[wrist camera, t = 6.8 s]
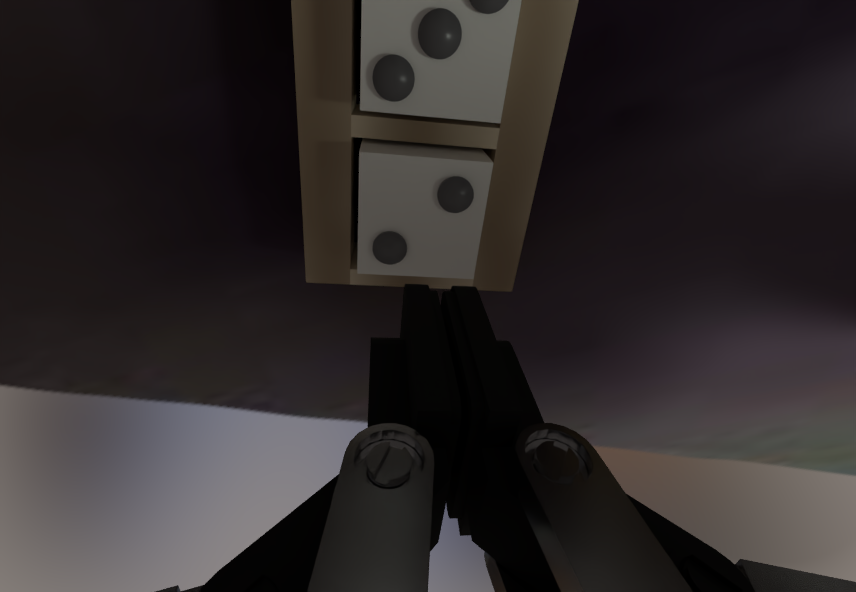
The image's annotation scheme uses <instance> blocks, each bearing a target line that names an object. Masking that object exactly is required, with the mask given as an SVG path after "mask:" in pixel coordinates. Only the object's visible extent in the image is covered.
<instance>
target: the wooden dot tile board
mask: <svg viewBox="0 0 856 592" xmlns="http://www.w3.org/2000/svg"><path fill="white" fill-rule="evenodd" d="M578 1H579V0H522V2H521V7H520V13H519V19H518V25H517V30H516V36H515V42H514V48H513V54H512V59H511V65H510V71H509V77H508V82H507V88H506V94H505V100H504V106H503V111H502V117H501V123H491V122H480V121H469V120H458V119H448V118H437V117H426V116H415V115H405V114H394V113H383V112H372V111H362V110H360V104H356V65H357V0H291V7H292V26H293V45H294V64H295V83H296V102H297V121H298V140H299V158H300V177H301V196H302V215H303V234H304V253H305V272H306V283H327V284H350V285H372V286H394V287H404V286H405V284H426V285H428V286H429V288H439V289H451V287H452V286H475V287H476V288H477V290H484V291H506V292H512V289H513V285H514V281H515V276H516V272H517V268H518V263H519V259H520V254H521V250H522V246H523V241H524V237H525V233H526V228H527V224H528V219H529V215H530V211H531V206H532V202H533V198H534V193H535V189H536V185H537V180H538V176H539V171H540V167H541V163H542V158H543V154H544V150H545V145H546V141H547V136H548V132H549V128H550V123H551V119H552V115H553V110H554V106H555V102H556V97H557V93H558V88H559V84H560V80H561V75H562V71H563V67H564V62H565V58H566V53H567V49H568V45H569V40H570V36H571V32H572V27H573V23H574V19H575V14H576V10H577V5H578ZM356 137H358V138H370V139H382V140H393V141H405V142H417V143H429V144H440V145H452V146H464V147H475V148H482V150H483V151H484V152H485V153H486V154H487V156H488V157H489V158H490V159H491V160H492V162H493V169H492V175H491V181H490V186H489V192H488V198H487V204H486V210H485V215H484V221H483V227H482V233H481V238H480V244H479V250H478V256H477V262H476V267H475V273H474V279H459V278H438V277H418V276H397V275H376V274H357V259H358V243H356V242H354V232H355V149H356Z"/></svg>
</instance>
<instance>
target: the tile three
mask: <svg viewBox="0 0 856 592" xmlns="http://www.w3.org/2000/svg"><path fill="white" fill-rule="evenodd" d="M521 2H522V0H362V13H361V75H360V110H362V111H372V112H383V113H394V114H405V115H415V116H426V117H437V118H448V119H458V120H469V121H480V122H491V123H501V117H502V111H503V106H504V100H505V94H506V88H507V82H508V77H509V71H510V65H511V59H512V54H513V48H514V42H515V36H516V30H517V25H518V19H519V13H520V7H521Z"/></svg>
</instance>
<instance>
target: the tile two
mask: <svg viewBox="0 0 856 592" xmlns="http://www.w3.org/2000/svg"><path fill="white" fill-rule="evenodd" d="M492 169H493V162H492V160H491V159H490V158H489V157H488V156H487V154H486V153H485V152H484V151H483V150H482V148H475V147H464V146H452V145H440V144H429V143H417V142H405V141H393V140H382V139H370V138H362V142H361V147H360V151H359V197H358V259H357V274H376V275H397V276H418V277H438V278H459V279H474V273H475V267H476V262H477V256H478V250H479V244H480V238H481V233H482V227H483V221H484V215H485V210H486V204H487V198H488V192H489V186H490V181H491V175H492Z"/></svg>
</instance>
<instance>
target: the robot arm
mask: <svg viewBox="0 0 856 592" xmlns="http://www.w3.org/2000/svg"><path fill="white" fill-rule="evenodd" d="M446 503H447V511H448V516H449V518H458V525H459V531H460V536H461V535H471V537H472V541H473V542H474V543H475V544H477V545H478V546H479V547H480V548H481V549H483V550H484V551H485V553H484V557H485V562H486V567H487V570H488V573H489V576H490V579H491V582H492V585H493V588H494V590H495V592H856V582H852V581H848V580H843V579H838V578H833V577H828V576H822V575H817V574H813V573H808V572H802V571H797V570H793V569H788V568H783V567H777V566H773V565H768V564H763V563H758V562H753V561H748V560H743V559H740V560H739V561H738V562H737V563H736V564H733V563H732V562H731V561H730V560H729V559H727V558H726V557H725V556H723V555H722V554H721V553H719V552H718V551H717V550H715V549H714V548H712V547H710V546H709V545H707V544H705V543H704V542H702V541H701V540H699V539H698V538H696V537H694V536H693V535H691V534H690V533H688V532H686V531H685V530H683V529H682V528H680V527H678V526H677V525H675V524H674V523H672V522H670V521H669V520H667V519H666V518H664V517H662V516H661V515H659V514H658V513H656V512H654V511H653V510H651V509H649V508H648V507H646V506H645V505H643V504H642V503H640V502H638V501H637V500H635V499H634V498H632V497H630V496H629V495H627V494H626V493H625V492H624V491H623V489H622V488H621V486H620V485H619V483H618V482H617V481H616V479H615V478H614V476H613V475H612V473H611V472H610V471H609V469H608V467H607V466H606V464H605V463H604V462H603V460H602V459H601V458H600V456H599V454H598V453H597V451H596V450H595V449H594V448H593V447H592V445H591V444H590V443H589V442H588V441H587V440H586V439H585V438H583V437H582V436H581V435H579V434H578V433H577V432H575V431H573V430H571V429H569V428H566V427H564V426H561V425H557V424H553V423H544V421H543V419H542V416H541V414H540V411H539V409H538V407H537V404H536V402H535V399H534V397H533V395H532V392H531V390H530V388H529V385H528V383H527V380H526V378H525V376H524V373H523V371H522V368H521V366H520V364H519V361H518V359H517V357H516V354H515V352H514V349H513V347H512V345H511V344H510V342H508V341H496V338H495V335H494V333H493V330H492V328H491V325H490V322H489V320H488V317H487V314H486V312H485V309H484V306H483V304H482V301H481V298H480V296H479V293H478V290H477V288H476V287H475V286H452V287H451V290H450V291H443V294H442V299H441V306H440V302H439V297H438V293H437V291H430V290H429V286H428V285H426V284H405V286H404V295H403V307H402V320H401V332H400V338H371V350H370V377H369V404H368V428H366V429H364V430H363V431H361V432H359V433H358V434H357V435H356V436H355V437H354V438H353V439H352V440H351V441H350V443H349V445H348V447H347V449H346V451H345V454H344V458H343V462H342V465H341V469H340V473H339V474H338V475H337V476H336V477H335V478H333V479H332V480H331V481H330V482H328V483H327V484H326V485H325V486H324V487H322V488H321V489H320V490H319V491H317V492H316V493H315V494H314V495H312V496H311V497H310V498H309V499H307V500H306V501H305V502H304V503H302V504H301V505H300V506H299V507H297V508H296V509H295V510H294V511H293V512H291V513H290V514H289V515H288V516H286V517H285V518H284V519H283V520H281V521H280V522H279V523H278V524H276V525H275V526H274V527H273V528H271V529H270V530H269V531H268V532H266V533H265V534H264V535H263V536H261V537H260V538H259V539H258V540H256V541H255V542H254V543H253V544H251V545H250V546H249V547H248V548H246V549H245V550H244V551H243V552H241V553H240V554H239V555H238V556H236V557H235V558H234V559H233V560H231V561H230V562H229V563H228V564H226V565H225V566H224V567H223V568H221V569H220V570H219V571H218V572H217V573H216V574H215V575H214V576H213V577H212V578H211V579H210V580H209V581H208V582H207V583H206V584H205V585H202V586H199V587H195V588H192V589H188V590H185V591H180V589H179V586H178V585H177V586H174V587H170V588H167V589H163V590H160V591H156V592H428V576H429V557H430V551H431V550H432V549H433V548H434V546H435V545H436V544H437V543H438V540H439V535H440V530H441V525H442V520H443V515H444V509H445V504H446Z"/></svg>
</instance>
